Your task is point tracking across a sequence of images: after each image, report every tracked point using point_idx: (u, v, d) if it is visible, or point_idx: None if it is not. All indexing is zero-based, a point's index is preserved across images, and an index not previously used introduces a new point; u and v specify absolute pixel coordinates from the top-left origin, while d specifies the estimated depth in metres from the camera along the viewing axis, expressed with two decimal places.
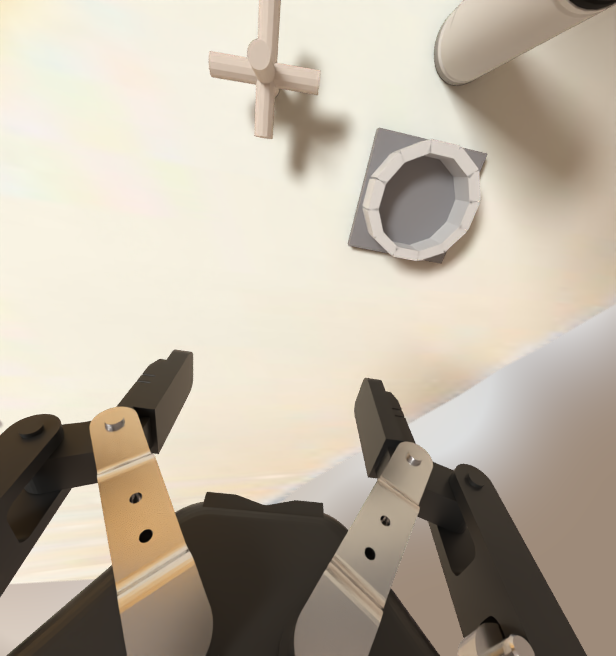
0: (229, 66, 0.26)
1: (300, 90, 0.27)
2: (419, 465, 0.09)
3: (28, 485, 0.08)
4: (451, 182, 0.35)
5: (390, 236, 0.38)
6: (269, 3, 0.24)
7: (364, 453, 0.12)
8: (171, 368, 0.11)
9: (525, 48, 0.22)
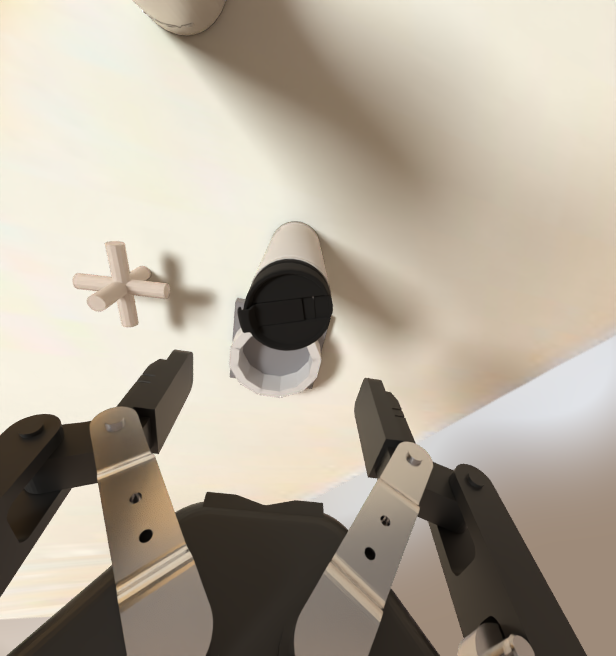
0: (90, 286, 0.33)
1: (152, 296, 0.34)
2: (419, 465, 0.09)
3: (28, 485, 0.08)
4: None
5: (263, 371, 0.45)
6: (112, 252, 0.31)
7: (364, 453, 0.12)
8: (171, 368, 0.11)
9: None
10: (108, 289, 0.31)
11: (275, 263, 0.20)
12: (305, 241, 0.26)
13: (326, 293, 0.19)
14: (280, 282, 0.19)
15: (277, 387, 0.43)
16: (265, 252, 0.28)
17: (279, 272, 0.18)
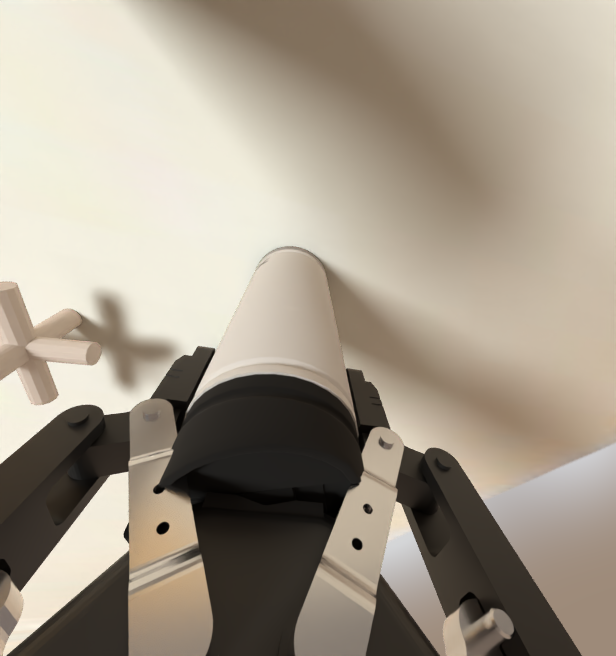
0: None
1: (71, 362, 0.22)
2: (390, 448, 0.10)
3: (70, 470, 0.09)
4: None
5: None
6: None
7: None
8: (197, 363, 0.12)
9: None
10: None
11: (231, 390, 0.08)
12: (304, 297, 0.15)
13: (356, 480, 0.08)
14: (235, 462, 0.07)
15: None
16: (235, 311, 0.16)
17: (229, 453, 0.07)
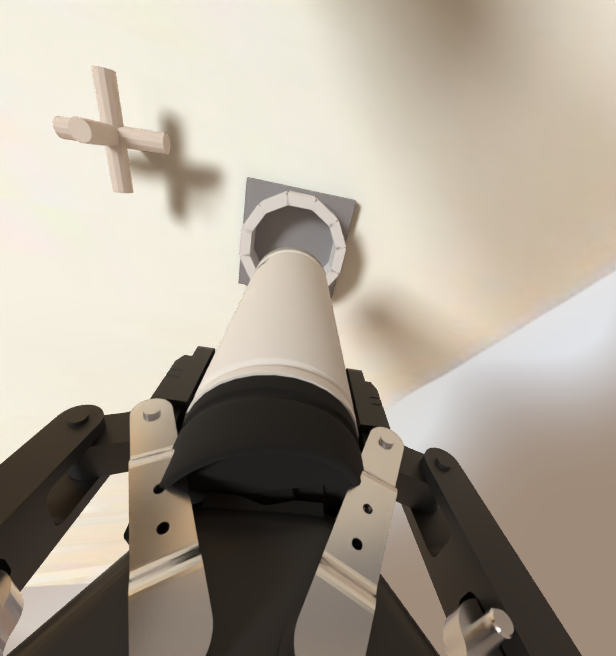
0: None
1: (149, 151, 0.29)
2: (390, 448, 0.10)
3: (70, 470, 0.09)
4: (326, 226, 0.36)
5: None
6: (99, 76, 0.25)
7: None
8: (197, 363, 0.12)
9: None
10: (95, 121, 0.25)
11: (231, 391, 0.08)
12: (304, 297, 0.15)
13: (356, 481, 0.08)
14: (235, 462, 0.07)
15: None
16: (235, 312, 0.16)
17: (229, 455, 0.07)
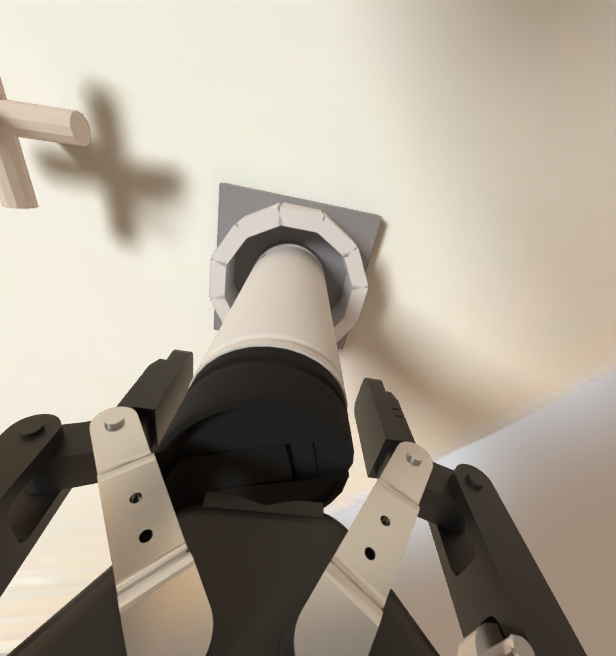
0: None
1: (52, 140, 0.17)
2: (419, 465, 0.09)
3: (28, 485, 0.08)
4: (337, 253, 0.25)
5: None
6: None
7: (364, 453, 0.12)
8: (171, 368, 0.11)
9: None
10: None
11: (230, 360, 0.09)
12: (300, 285, 0.16)
13: (341, 436, 0.09)
14: (233, 417, 0.08)
15: None
16: None
17: (228, 407, 0.07)
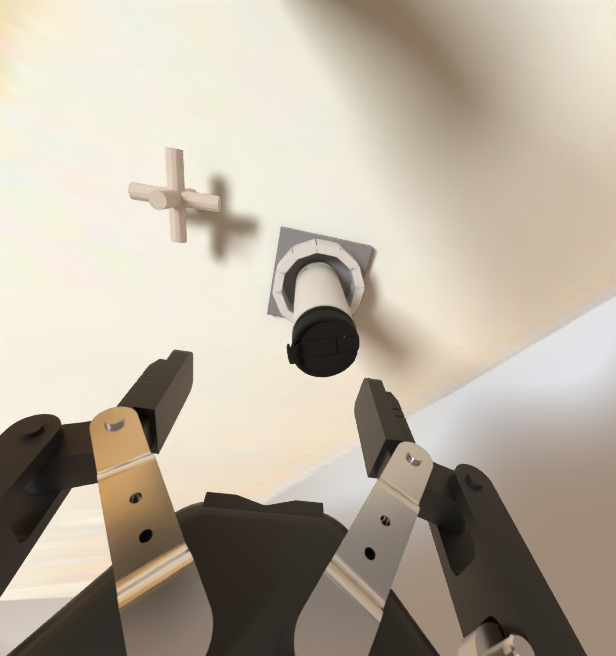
0: (145, 194, 0.33)
1: None
2: (419, 465, 0.09)
3: (28, 485, 0.08)
4: (346, 267, 0.42)
5: None
6: (171, 155, 0.31)
7: (364, 453, 0.12)
8: (171, 368, 0.11)
9: None
10: (167, 191, 0.31)
11: (315, 309, 0.26)
12: (332, 284, 0.32)
13: (355, 334, 0.25)
14: (320, 325, 0.25)
15: None
16: (298, 292, 0.34)
17: (321, 319, 0.24)
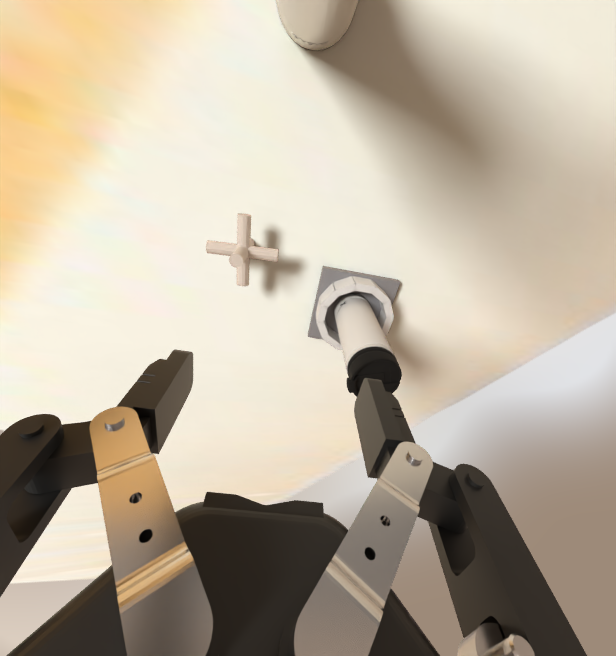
0: (219, 250, 0.40)
1: None
2: (419, 465, 0.09)
3: (28, 485, 0.08)
4: (377, 298, 0.49)
5: (337, 331, 0.52)
6: (243, 221, 0.38)
7: (364, 453, 0.12)
8: (171, 368, 0.11)
9: None
10: (241, 250, 0.38)
11: (367, 350, 0.34)
12: (372, 322, 0.40)
13: (399, 369, 0.33)
14: (373, 364, 0.33)
15: None
16: (344, 327, 0.41)
17: (374, 360, 0.32)
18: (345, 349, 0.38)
